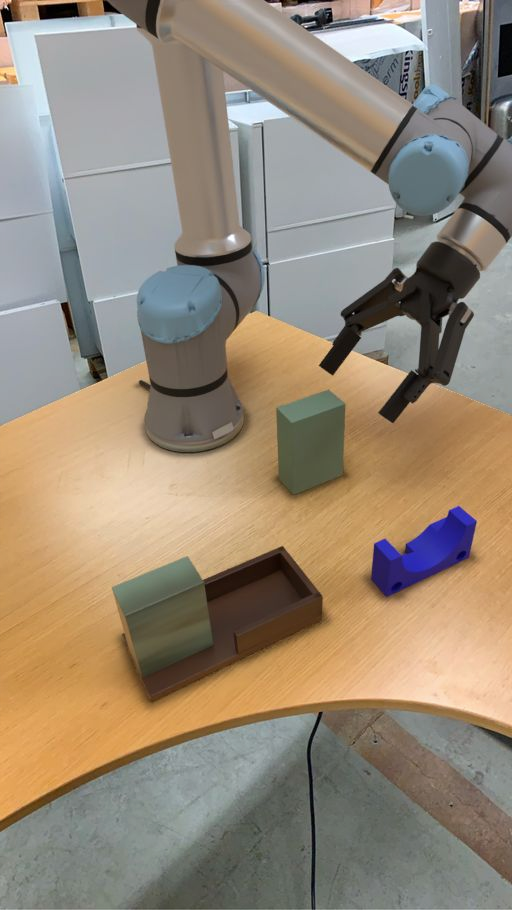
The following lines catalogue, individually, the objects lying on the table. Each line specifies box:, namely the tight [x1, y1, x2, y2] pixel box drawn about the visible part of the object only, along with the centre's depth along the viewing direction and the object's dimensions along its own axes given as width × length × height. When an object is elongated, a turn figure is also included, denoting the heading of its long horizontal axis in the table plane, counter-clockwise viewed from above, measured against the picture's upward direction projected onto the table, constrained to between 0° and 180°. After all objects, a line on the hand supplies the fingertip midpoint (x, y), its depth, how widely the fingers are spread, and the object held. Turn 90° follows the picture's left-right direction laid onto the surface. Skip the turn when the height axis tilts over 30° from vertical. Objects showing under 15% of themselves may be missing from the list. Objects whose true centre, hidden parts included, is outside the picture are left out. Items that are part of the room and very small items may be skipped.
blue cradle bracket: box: [370, 505, 478, 598], centre depth 76 cm, size 12×4×6 cm, turn 118°
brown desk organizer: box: [111, 545, 324, 703], centre depth 68 cm, size 9×20×11 cm, turn 118°
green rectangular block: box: [275, 389, 347, 496], centre depth 87 cm, size 4×8×12 cm, turn 118°
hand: (353, 393), depth 86 cm, fingers open, 13 cm apart
